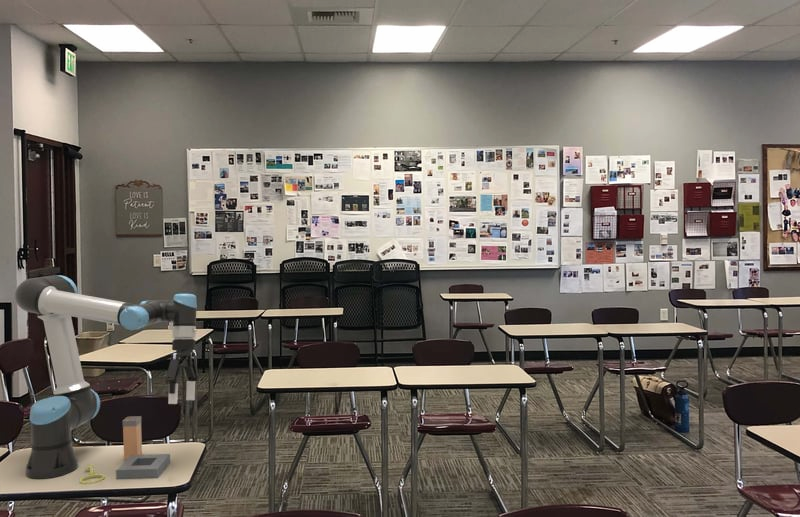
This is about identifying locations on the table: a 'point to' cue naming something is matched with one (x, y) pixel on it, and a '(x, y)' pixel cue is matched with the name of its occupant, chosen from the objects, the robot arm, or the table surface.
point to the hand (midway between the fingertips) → (181, 402)
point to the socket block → (143, 466)
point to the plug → (132, 436)
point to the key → (91, 476)
